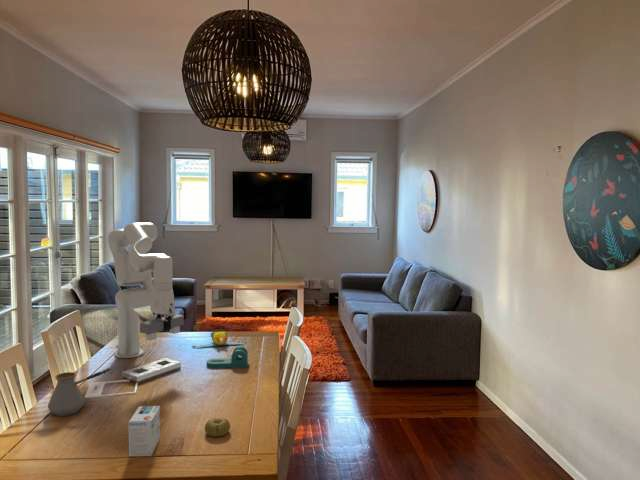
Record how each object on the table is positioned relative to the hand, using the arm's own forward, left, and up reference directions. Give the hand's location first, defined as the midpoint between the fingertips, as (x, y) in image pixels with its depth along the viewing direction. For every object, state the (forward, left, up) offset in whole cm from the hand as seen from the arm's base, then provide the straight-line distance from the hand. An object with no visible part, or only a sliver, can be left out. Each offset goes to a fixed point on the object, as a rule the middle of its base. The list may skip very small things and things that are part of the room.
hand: (163, 328), depth 203 cm
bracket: (+11, +26, -21) cm, 35 cm away
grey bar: (0, 0, -3) cm, 3 cm away
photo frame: (-6, -20, -21) cm, 29 cm away
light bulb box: (+43, -41, -21) cm, 63 cm away
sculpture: (+54, -22, -21) cm, 62 cm away
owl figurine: (-15, +47, -21) cm, 54 cm away
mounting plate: (-7, 0, -21) cm, 22 cm away
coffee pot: (+3, -38, -21) cm, 43 cm away
